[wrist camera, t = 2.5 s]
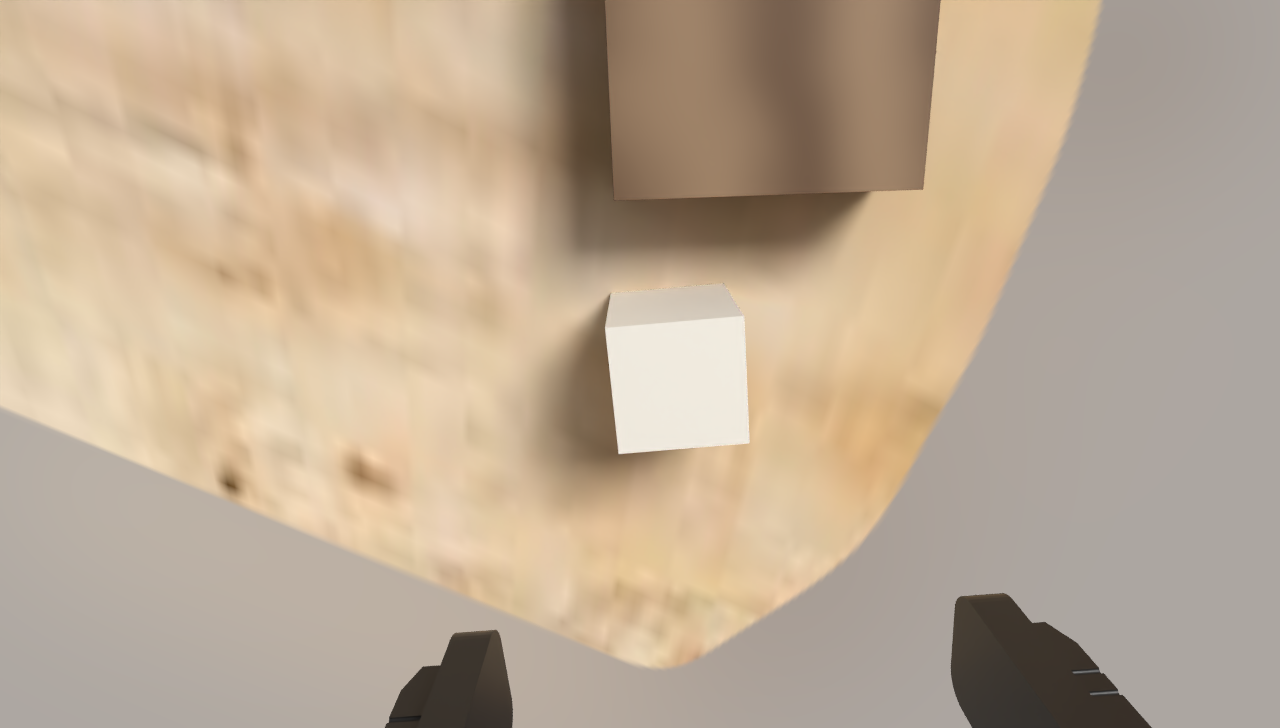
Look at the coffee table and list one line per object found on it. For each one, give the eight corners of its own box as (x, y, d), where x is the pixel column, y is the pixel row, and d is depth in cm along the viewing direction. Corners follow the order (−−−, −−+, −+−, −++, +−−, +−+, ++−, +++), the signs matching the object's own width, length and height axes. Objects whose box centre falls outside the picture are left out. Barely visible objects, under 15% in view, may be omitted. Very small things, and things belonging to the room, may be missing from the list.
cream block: (621, 397, 31) (618, 454, 26) (610, 292, 30) (604, 327, 24) (728, 388, 31) (749, 443, 26) (723, 282, 30) (744, 315, 24)
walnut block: (618, 191, 29) (614, 200, 24) (604, -109, 25) (597, -168, 21) (875, 182, 29) (923, 189, 24) (897, -121, 25) (957, -182, 21)
